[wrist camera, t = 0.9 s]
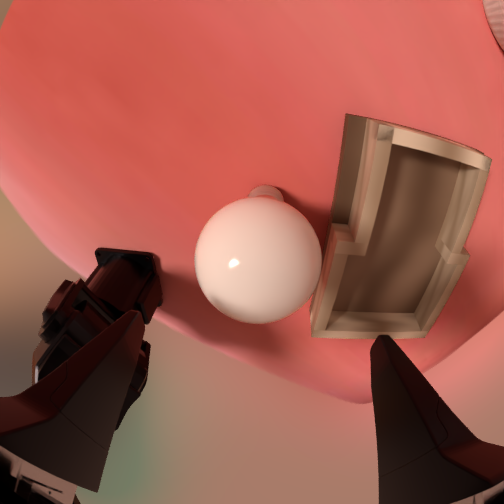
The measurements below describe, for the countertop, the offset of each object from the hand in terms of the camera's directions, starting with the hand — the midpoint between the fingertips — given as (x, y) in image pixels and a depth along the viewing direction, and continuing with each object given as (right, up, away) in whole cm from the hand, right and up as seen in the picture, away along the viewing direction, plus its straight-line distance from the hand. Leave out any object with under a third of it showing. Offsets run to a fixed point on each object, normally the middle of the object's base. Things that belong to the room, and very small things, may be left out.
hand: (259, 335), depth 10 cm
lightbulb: (+1, +7, +11) cm, 13 cm away
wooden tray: (+12, +4, +11) cm, 17 cm away
